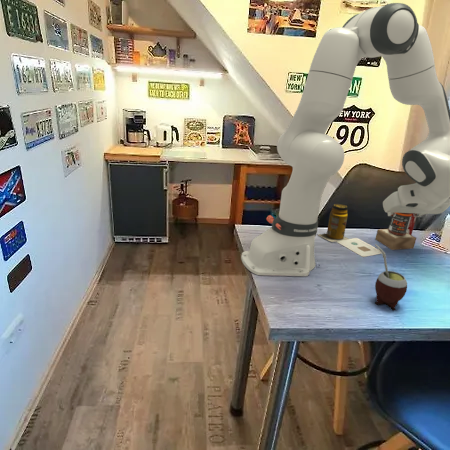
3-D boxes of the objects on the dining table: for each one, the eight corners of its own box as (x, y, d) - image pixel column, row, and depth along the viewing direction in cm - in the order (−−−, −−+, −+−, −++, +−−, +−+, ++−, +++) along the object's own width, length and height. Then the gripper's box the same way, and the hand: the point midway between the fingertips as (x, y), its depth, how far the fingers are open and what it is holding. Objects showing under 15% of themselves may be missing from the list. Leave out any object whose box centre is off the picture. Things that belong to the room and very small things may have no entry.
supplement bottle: (388, 234, 123) (396, 203, 119) (387, 228, 128) (394, 199, 124) (407, 237, 121) (415, 206, 117) (405, 231, 126) (413, 201, 122)
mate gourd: (407, 310, 86) (423, 255, 81) (379, 312, 85) (394, 257, 79) (388, 294, 93) (402, 242, 88) (361, 296, 91) (374, 243, 86)
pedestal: (392, 249, 121) (394, 238, 119) (375, 239, 129) (377, 228, 128) (413, 248, 123) (416, 237, 122) (395, 238, 131) (398, 227, 130)
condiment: (348, 239, 127) (354, 207, 123) (331, 242, 123) (337, 209, 119) (334, 232, 133) (339, 202, 129) (317, 235, 129) (321, 204, 125)
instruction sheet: (362, 257, 114) (363, 256, 114) (335, 241, 125) (335, 240, 125) (385, 253, 118) (385, 252, 118) (356, 238, 129) (356, 237, 129)
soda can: (408, 240, 130) (417, 209, 126) (389, 235, 134) (397, 205, 130) (412, 235, 136) (420, 205, 131) (393, 230, 139) (401, 201, 135)
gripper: (456, 188, 111) (428, 207, 124) (395, 185, 109) (373, 205, 122) (461, 205, 109) (432, 224, 121) (399, 203, 107) (376, 222, 119)
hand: (402, 214), depth 121 cm, fingers open, 8 cm apart
